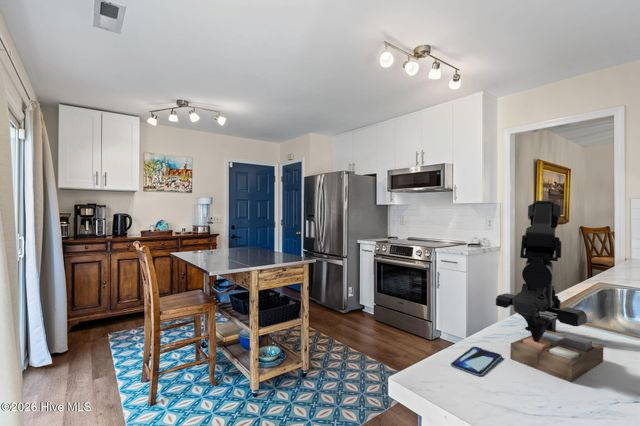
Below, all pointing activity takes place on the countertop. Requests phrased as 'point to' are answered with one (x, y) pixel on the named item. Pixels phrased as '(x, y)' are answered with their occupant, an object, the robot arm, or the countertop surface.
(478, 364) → the smartphone
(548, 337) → the key
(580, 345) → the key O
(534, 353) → the wooden sorting tray
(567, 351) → the key
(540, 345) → the peach block
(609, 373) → the countertop surface
